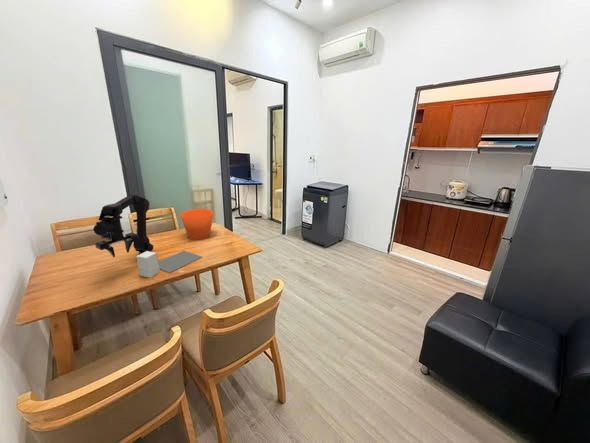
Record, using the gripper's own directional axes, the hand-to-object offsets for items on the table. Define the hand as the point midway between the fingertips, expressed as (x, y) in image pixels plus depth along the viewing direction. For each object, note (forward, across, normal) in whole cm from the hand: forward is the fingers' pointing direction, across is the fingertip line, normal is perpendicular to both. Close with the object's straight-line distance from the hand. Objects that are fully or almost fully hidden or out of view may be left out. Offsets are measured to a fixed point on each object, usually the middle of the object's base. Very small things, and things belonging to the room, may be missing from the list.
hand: (121, 254), depth 133 cm
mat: (+13, -26, +10) cm, 31 cm away
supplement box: (+13, -8, +10) cm, 18 cm away
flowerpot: (+13, -63, -13) cm, 66 cm away
